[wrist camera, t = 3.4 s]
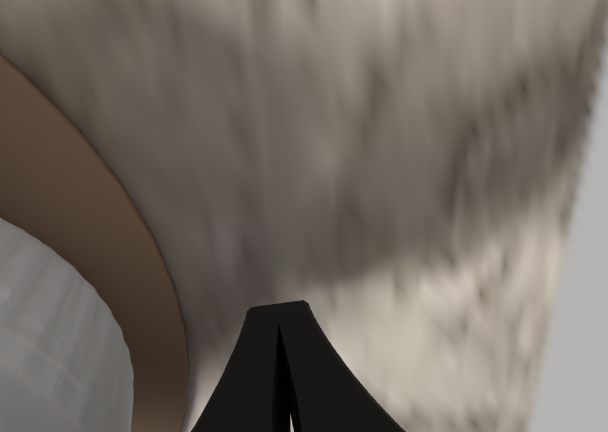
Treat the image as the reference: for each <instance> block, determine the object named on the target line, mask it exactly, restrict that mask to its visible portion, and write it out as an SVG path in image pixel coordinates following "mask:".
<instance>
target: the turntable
mask: <svg viewBox="0 0 608 432" xmlns="http://www.w3.org/2000/svg"><path fill="white" fill-rule="evenodd" d="M0 218H2V219H3V220H5V221H7V222H9V223H11V224H13V225H15V226H17V227H19V228H21V229H23V230H24V231H26V232H27V233H28V234H30V235H31V236H33V237H35V238H36V239H38V240H40V241H41V242H42V243H44V244H45V245H47V246H48V247H50V248H52V249H53V250H54V251H55V252H56V253H57V254H58V255H59V256H61V257H62V258H63V259H64V260H66V261H67V262H68V263H70V264H71V265H72V266H74V267H75V269H76V270H77V271H78V272H79V273H80V275H81V276H82V277H83V278H84V279H85V280H86V281H87V282H89V283H90V284H91V285H92V286H93V287H94V288H95V290H96V291H97V293H98V295H99V296H100V298H101V299H102V300H103V301H104V302H105V303H106V304H107V306H108V307H109V308H110V310H111V312H112V315H113V317H114V319H115V320H116V322H117V323H118V325H119V326H120V328H121V330H122V333H123V338H124V341H125V343H126V345H127V347H128V349H129V353H130V360H131V364H132V368H133V376H134V378H133V409H132V420H131V431H130V432H180V428H181V425H182V421H183V417H184V412H185V407H186V395H187V384H188V373H189V366H188V355H187V343H186V332H185V326H184V322H183V319H182V315H181V311H180V307H179V303H178V299H177V295H176V291H175V287H174V284H173V282H172V280H171V277H170V275H169V272H168V270H167V268H166V265H165V263H164V261H163V258H162V256H161V254H160V251H159V249H158V247H157V244H156V242H155V240H154V237H153V236H152V234H151V232H150V231H149V229H148V227H147V226H146V224H145V222H144V221H143V219H142V217H141V216H140V214H139V212H138V211H137V209H136V207H135V206H134V204H133V202H132V201H131V199H130V197H129V196H128V194H127V192H126V191H125V189H124V187H123V186H122V184H121V183H120V182H119V180H118V179H117V178H116V177H115V175H114V174H113V173H112V171H111V170H110V169H109V168H108V166H107V165H106V164H105V162H104V161H103V160H102V159H101V157H100V156H99V155H98V154H97V152H96V151H95V150H94V148H93V147H92V146H91V145H90V143H89V142H88V141H87V139H86V138H85V137H84V136H83V134H82V133H81V132H80V131H79V130H78V129H77V127H76V126H75V125H74V124H73V123H72V122H71V121H70V120H69V119H68V118H67V117H66V116H65V115H64V114H63V113H62V112H61V111H60V110H59V109H58V108H57V107H56V106H55V105H54V104H53V103H52V102H51V101H50V100H49V99H48V98H47V97H46V96H45V95H44V94H43V93H42V92H41V91H40V90H39V89H38V88H37V86H36V85H35V84H34V83H33V82H32V81H31V80H30V79H29V78H28V77H27V76H26V75H25V74H24V73H22V72H21V71H20V70H19V69H18V68H16V67H15V66H14V65H13V64H12V63H10V62H9V61H8V60H7V59H6V58H4V57H3V56H2V55H1V54H0Z"/></svg>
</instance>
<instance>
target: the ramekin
mask: <svg viewBox="0 0 608 432" xmlns="http://www.w3.org/2000/svg"><path fill="white" fill-rule="evenodd" d="M133 378H134V376H133V368H132V364H131V360H130V353H129V349H128V347H127V345H126V343H125V341H124V338H123V333H122V330H121V328H120V326H119V325H118V323H117V322H116V320H115V319H114V317H113V315H112V312H111V310H110V308H109V307H108V306H107V304H106V303H105V302H104V301H103V300H102V299H101V298H100V296H99V295H98V293H97V291H96V290H95V288H94V287H93V286H92V285H91V284H90V283H89V282H87V281H86V280H85V279H84V278H83V277H82V276H81V275H80V273H79V272H78V271H77V270H76V269H75V267H74V266H72V265H71V264H70V263H68V262H67V261H66V260H64V259H63V258H62V257H61V256H59V255H58V254H57V253H56V252H55V251H54V250H53V249H52V248H50V247H48V246H47V245H45V244H44V243H42V242H41V241H40V240H38V239H36V238H35V237H33V236H31V235H30V234H28V233H27V232H26V231H24V230H23V229H21V228H19V227H17V226H15V225H13V224H11V223H9V222H7V221H5V220H3V219H2V218H0V432H130V431H131V420H132V409H133Z"/></svg>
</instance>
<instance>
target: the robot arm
mask: <svg viewBox="0 0 608 432" xmlns="http://www.w3.org/2000/svg"><path fill="white" fill-rule="evenodd" d="M290 413H291V418H292V424H293V429H294V432H406V431H405V430H404V429H402V428H401V427H400V426H399V425H398V424H397V423H396V422H395V420H394V419H393V418H392V417H391V416H390V415H389V414H388V413H387V412H386V411H385V410H384V409H383V408H382V407H381V406H380V405H379V404H378V403H377V402H376V400H375V399H374V398H373V397H372V396H371V395H370V394H369V393H368V391H367V390H366V389H365V388H364V387H363V385H362V384H361V383H360V382H359V381H358V379H357V378H356V377H355V376H354V375H353V373H352V372H351V371H350V369H349V368H348V367H347V366H346V364H345V363H344V362H343V360H342V359H341V357H340V356H339V355H338V353H337V352H336V350H335V349H334V348H333V346H332V345H331V343H330V342H329V340H328V339H327V337H326V336H325V334H324V333H323V331H322V329H321V328H320V326H319V324H318V323H317V321H316V319H315V317H314V315H313V313H312V311H311V309H310V306H309V304H308V303H307V302H305V301H304V300H302V301H294V302H287V303H279V304H272V305H264V306H256V307H251V308H250V309H249V310H248V311H247V313H246V317H245V321H244V324H243V327H242V330H241V333H240V335H239V338H238V340H237V343H236V345H235V348H234V350H233V353H232V355H231V357H230V359H229V361H228V364H227V366H226V368H225V370H224V372H223V374H222V377H221V379H220V381H219V383H218V384H217V386H216V388H215V390H214V392H213V394H212V396H211V397H210V399H209V401H208V403H207V405H206V407H205V409H204V410H203V412H202V414H201V416H200V417H199V419H198V421H197V422H196V424H195V426H194V428H193V429H192V431H191V432H290Z"/></svg>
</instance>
